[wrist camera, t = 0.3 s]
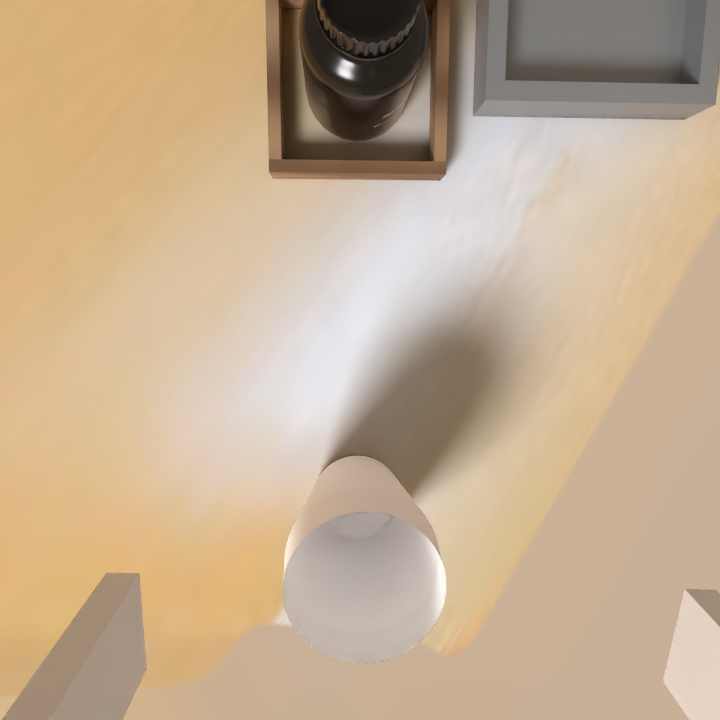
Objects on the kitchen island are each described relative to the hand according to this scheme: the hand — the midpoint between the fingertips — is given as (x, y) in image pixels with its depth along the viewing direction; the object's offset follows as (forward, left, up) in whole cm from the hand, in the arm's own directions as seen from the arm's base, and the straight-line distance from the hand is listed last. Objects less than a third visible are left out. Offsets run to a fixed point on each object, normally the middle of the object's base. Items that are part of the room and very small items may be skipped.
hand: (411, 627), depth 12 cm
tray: (-28, +15, -26) cm, 41 cm away
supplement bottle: (-21, 0, -26) cm, 34 cm away
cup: (+8, 0, -26) cm, 27 cm away
